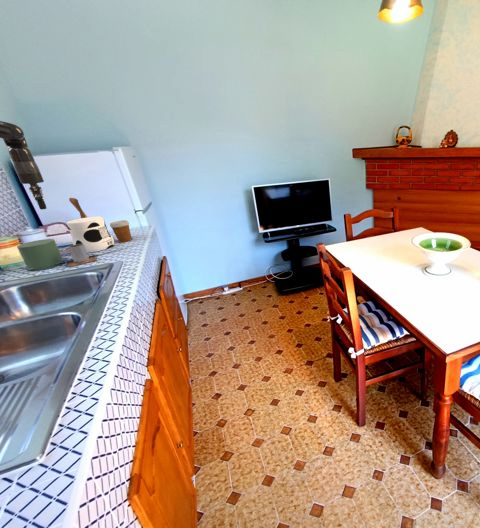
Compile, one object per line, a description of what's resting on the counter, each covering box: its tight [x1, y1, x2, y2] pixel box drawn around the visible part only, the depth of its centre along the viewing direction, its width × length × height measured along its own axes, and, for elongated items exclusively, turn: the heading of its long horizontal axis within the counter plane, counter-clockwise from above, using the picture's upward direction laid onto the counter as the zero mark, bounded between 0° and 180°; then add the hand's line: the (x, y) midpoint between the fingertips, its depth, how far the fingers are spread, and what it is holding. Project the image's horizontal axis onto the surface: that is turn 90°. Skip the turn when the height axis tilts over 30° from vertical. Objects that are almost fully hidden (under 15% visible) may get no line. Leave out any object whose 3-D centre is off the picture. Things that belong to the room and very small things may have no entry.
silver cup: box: [67, 244, 90, 263], centre depth 150 cm, size 6×6×8 cm
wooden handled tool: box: [68, 197, 88, 219], centre depth 179 cm, size 7×19×28 cm, turn 44°
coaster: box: [66, 255, 98, 268], centre depth 152 cm, size 11×11×1 cm
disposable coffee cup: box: [109, 219, 133, 244], centre depth 182 cm, size 10×10×12 cm
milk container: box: [66, 216, 115, 254], centre depth 164 cm, size 17×17×18 cm
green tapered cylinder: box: [16, 238, 66, 272], centre depth 146 cm, size 14×14×12 cm
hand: (43, 208), depth 140 cm, fingers open, 8 cm apart
